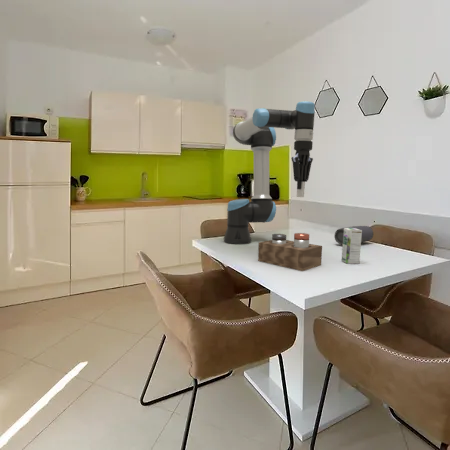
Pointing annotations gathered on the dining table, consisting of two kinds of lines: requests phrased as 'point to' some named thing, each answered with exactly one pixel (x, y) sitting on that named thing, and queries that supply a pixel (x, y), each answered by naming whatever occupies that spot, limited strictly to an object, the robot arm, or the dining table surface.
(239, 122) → the robot arm
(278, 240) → the grey lid glass jar
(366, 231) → the bluetooth speaker
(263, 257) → the wooden jar holder
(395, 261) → the dining table surface
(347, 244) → the syrup box
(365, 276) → the dining table surface
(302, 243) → the red lid glass jar
